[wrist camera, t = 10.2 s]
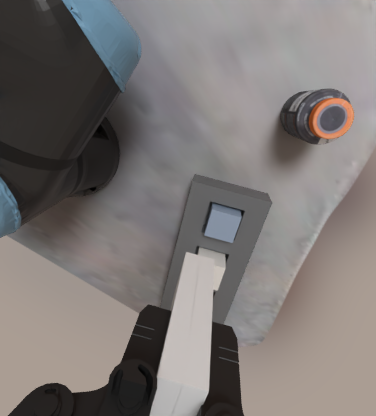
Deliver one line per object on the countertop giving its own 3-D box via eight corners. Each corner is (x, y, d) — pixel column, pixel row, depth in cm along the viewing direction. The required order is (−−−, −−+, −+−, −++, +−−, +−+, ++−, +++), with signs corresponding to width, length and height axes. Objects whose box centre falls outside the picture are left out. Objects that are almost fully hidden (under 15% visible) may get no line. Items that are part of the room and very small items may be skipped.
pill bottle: (319, 136, 38) (357, 150, 27) (277, 135, 38) (298, 149, 28) (328, 91, 35) (372, 87, 25) (283, 91, 36) (308, 87, 26)
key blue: (205, 223, 43) (204, 235, 39) (212, 199, 41) (212, 209, 38) (231, 230, 43) (232, 243, 39) (239, 207, 41) (241, 217, 38)
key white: (193, 268, 45) (190, 283, 41) (199, 246, 43) (197, 260, 39) (217, 275, 45) (217, 290, 41) (225, 253, 43) (225, 268, 39)
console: (163, 296, 52) (158, 311, 49) (195, 174, 42) (192, 181, 38) (221, 312, 52) (221, 328, 48) (267, 193, 42) (272, 202, 38)
